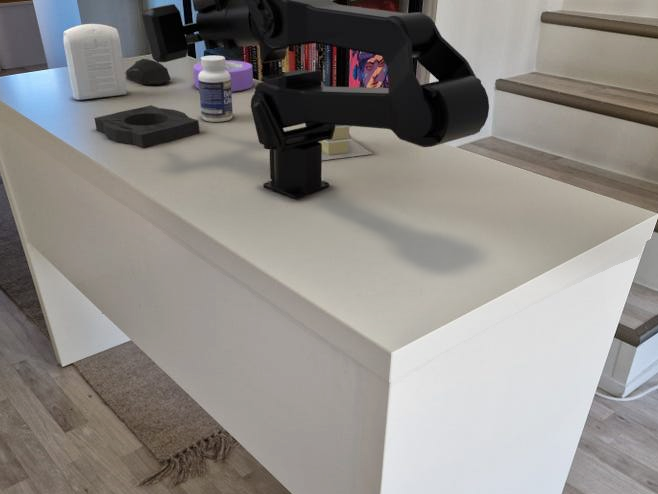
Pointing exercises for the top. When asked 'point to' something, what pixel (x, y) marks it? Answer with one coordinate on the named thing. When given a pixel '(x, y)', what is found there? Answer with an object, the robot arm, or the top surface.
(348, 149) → the stacked layers on plate
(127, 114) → the pad
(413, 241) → the top surface
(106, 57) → the white upright block
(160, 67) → the gaming mouse
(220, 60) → the pill bottle
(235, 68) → the tape roll
